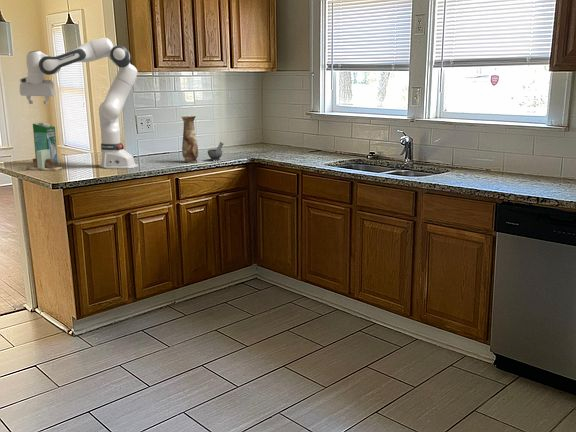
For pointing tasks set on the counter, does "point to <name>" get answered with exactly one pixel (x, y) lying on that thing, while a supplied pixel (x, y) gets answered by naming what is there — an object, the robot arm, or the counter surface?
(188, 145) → the vase
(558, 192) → the counter surface
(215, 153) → the mortar and pestle
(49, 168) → the jig
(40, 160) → the pale green flat box
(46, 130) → the milk carton
